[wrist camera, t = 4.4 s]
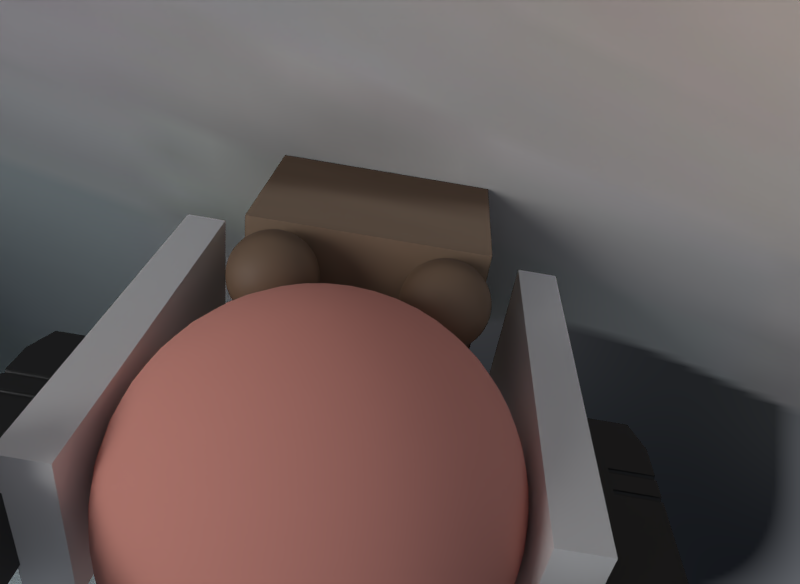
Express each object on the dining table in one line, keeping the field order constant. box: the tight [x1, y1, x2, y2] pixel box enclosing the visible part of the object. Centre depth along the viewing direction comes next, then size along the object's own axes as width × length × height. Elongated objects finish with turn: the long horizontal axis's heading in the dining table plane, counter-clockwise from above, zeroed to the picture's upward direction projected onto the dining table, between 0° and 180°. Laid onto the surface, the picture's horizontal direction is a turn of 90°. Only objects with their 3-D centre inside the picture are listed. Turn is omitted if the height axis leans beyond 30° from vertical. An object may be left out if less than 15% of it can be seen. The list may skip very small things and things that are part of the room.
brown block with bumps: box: [225, 155, 492, 349], centre depth 13 cm, size 5×5×4 cm
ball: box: [88, 283, 529, 584], centre depth 10 cm, size 6×6×6 cm
